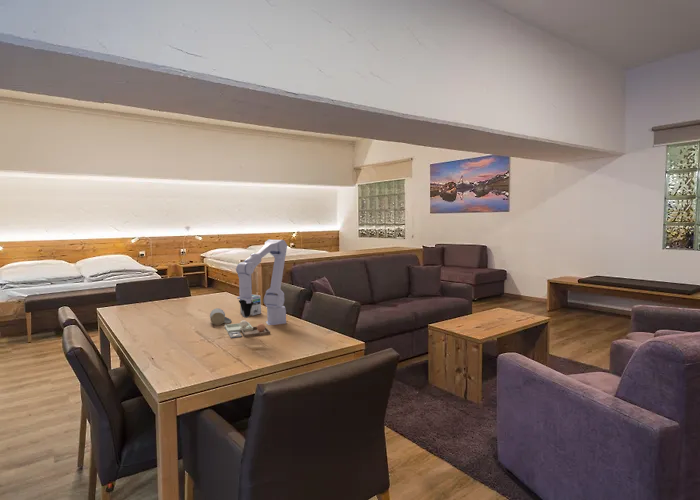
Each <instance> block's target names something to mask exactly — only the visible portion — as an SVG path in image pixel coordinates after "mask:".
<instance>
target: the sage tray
mask: <svg viewBox="0 0 700 500" xmlns="http://www.w3.org/2000/svg"><path fill="white" fill-rule="evenodd" d="M247 322H248V321H247ZM247 327H252V328H247ZM247 327H246V329H242V330H243V331H252V330H253V327H254V326H252V325H251V323H250V322H248V326H247ZM240 328H241V327H240V322H239V323H238V322H236V323H228V324H227V323H226V324H224V329H225V331H226V332H227V334H228V333H231V332H240V333H241V329H240Z"/></svg>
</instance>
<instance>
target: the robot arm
mask: <svg viewBox="0 0 700 500" xmlns="http://www.w3.org/2000/svg"><path fill="white" fill-rule="evenodd" d="M287 248H288V244H287V242H286V240H284V239H271V238H270V239H267V240H266V241H264V245H263V246H262V247H261V248H260V249H259V250H258V251H257V252H254V253H250V256H248V257H247V258H246V259H245V260H243V261H241V262H239V263H238V264H237V265H236V268H235V271H236V273H237V277H238V285H239V286H238V287H239V288H238V290H239V296H237V297H236V299H237V300H238V303H239V304H240V305H241V308H242V312H243V311H244V315H245V317H248V318H249V317H250V316H251V315H250V312H251V307H252V305H253V302H251V299H252V294H253V292H252V291H253V290H252V288H253V287H252V274H254V271H255V269H256V267H257V266H258V265H260V264H261V262H262V259H263V258H264V257H265V256H266V255H268V254H270V255H271V256H272V257H273V258H274V261H273V267H272V274H271V281H270V285H269V286H270V287H269V288H268V289H267V290H265V294H264V297H263V304H264V305H265V307H266V311H267V312H266V314H267V315H266V317H267V320H266V321H265V324H267V326H275V325H284V324H287V311H286V310H287V309H286V306H285V305H284V304H285V292H284V291H283V290H282V288H281V287H282V281H283V275H284V267H285V261H286V256H287V250H288V249H287ZM240 299H242V300H240ZM240 305H239V306H240Z"/></svg>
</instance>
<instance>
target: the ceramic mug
mask: <svg viewBox="0 0 700 500" xmlns="http://www.w3.org/2000/svg"><path fill="white" fill-rule="evenodd" d="M209 319H210V323H211V324H212V325H213V326H220V325H221V326H222V325H223V324H224V323H225V324H226V325H227V324H232V319H230V318H229V317H227V316H226V313H225V311H224V309H221V308H217V307H216V308H214V309H212V310H211V311H210V313H209Z"/></svg>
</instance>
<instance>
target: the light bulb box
mask: <svg viewBox="0 0 700 500" xmlns="http://www.w3.org/2000/svg"><path fill="white" fill-rule="evenodd" d="M239 300H242V299H239ZM251 302H253V305H252V307H251V312H250V313H251V314H250V316H256V315H259V314H262V296H261V295H260V294H254V293H252V299H251ZM239 307H240V310H239V311H240V313H239V314H242V308H241V305H239Z"/></svg>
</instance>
